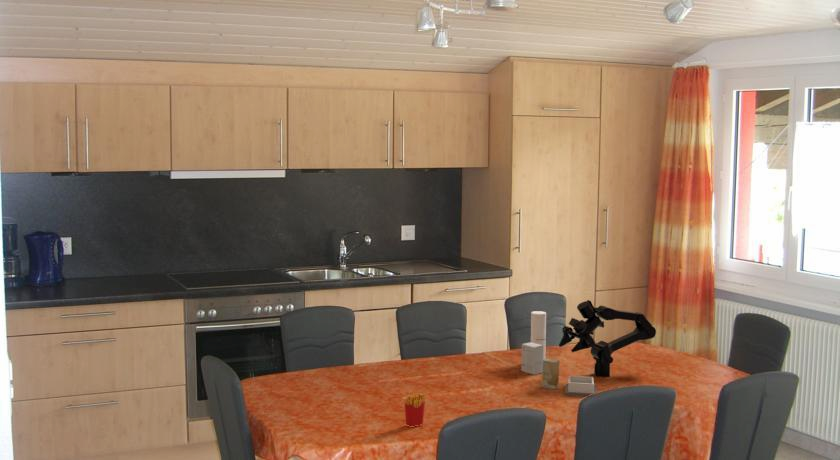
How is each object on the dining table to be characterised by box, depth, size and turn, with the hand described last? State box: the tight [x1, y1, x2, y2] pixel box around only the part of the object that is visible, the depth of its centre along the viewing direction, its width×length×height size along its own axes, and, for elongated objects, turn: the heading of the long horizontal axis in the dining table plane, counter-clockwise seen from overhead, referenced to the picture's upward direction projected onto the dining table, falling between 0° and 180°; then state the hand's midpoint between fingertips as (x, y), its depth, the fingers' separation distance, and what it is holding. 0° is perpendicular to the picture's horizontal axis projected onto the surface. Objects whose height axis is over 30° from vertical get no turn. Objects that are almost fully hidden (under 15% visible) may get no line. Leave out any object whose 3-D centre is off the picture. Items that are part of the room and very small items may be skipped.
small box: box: [520, 341, 543, 375], centre depth 380 cm, size 8×6×13 cm
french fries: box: [404, 392, 426, 426], centre depth 310 cm, size 8×4×12 cm, turn 125°
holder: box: [564, 375, 597, 397], centre depth 352 cm, size 13×13×5 cm
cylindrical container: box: [530, 310, 547, 360], centre depth 392 cm, size 7×7×25 cm
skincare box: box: [541, 357, 560, 390], centre depth 357 cm, size 6×4×12 cm
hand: (565, 348), depth 367 cm, fingers open, 9 cm apart
